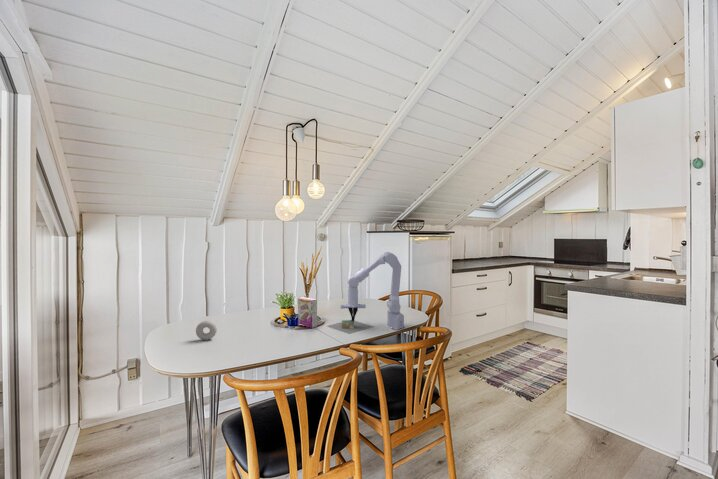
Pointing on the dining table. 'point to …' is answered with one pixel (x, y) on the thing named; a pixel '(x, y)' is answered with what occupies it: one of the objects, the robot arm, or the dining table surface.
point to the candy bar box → (307, 312)
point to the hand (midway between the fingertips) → (352, 320)
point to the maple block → (347, 324)
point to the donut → (206, 335)
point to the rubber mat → (357, 327)
